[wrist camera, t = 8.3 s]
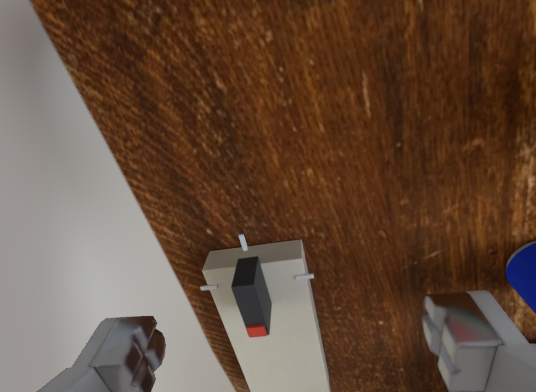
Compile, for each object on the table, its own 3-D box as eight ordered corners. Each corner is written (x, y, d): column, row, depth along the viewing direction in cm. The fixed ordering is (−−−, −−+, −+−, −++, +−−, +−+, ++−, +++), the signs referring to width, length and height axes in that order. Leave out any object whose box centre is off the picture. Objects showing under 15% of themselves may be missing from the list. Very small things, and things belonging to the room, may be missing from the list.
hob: (191, 224, 25) (181, 243, 23) (303, 207, 24) (304, 226, 21) (251, 377, 34) (248, 403, 32) (334, 373, 33) (337, 399, 31)
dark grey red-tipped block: (237, 258, 23) (229, 290, 20) (258, 255, 23) (253, 287, 20) (253, 305, 25) (248, 339, 23) (272, 303, 25) (269, 338, 22)
